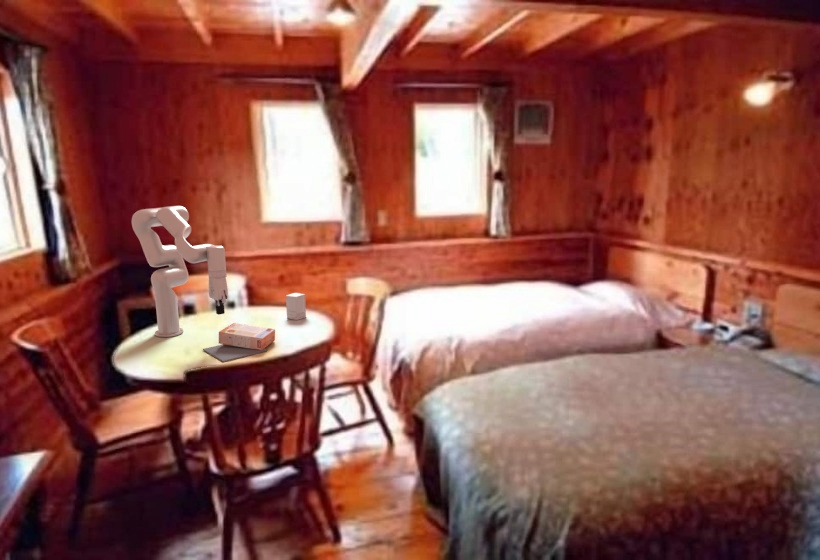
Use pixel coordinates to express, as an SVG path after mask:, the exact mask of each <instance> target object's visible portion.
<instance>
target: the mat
mask: <svg viewBox="0 0 820 560" xmlns="http://www.w3.org/2000/svg"><path fill="white" fill-rule="evenodd" d="M203 350H204V352H205V353H207V354H208V353H209V354H208V355H210V354H211V356H212V357H213V356H214V358H215V359H217V360H218V361H220V362H221V363H226V362H229V361H235V360H237V359H242V358H246V357H247V358H248V357H250V356H254V355H257V354H262V353H265V352H267V351H268V350H267V349H265V348H264V349H263V350H257V349H251V348H244V347H238V346H231V345H225V344H218V345H214V346H209V347H206V348H203V349H202V351H203Z"/></svg>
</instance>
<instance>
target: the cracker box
mask: <svg viewBox="0 0 820 560" xmlns="http://www.w3.org/2000/svg"><path fill="white" fill-rule="evenodd" d="M275 341H276V329H275V328H269V327H263V326H256V325H249V324H243V323H236V322H233V323H232V324H230V325H228V326H226V327H225V328H223V329H221V330H220V331H218V345H223V344H225V345H231V346H238V347H244V348H251V349H257V350H263V349H265V348H266V347H268V346H270V344H272V343H274V342H275Z"/></svg>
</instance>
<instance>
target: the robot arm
mask: <svg viewBox="0 0 820 560" xmlns="http://www.w3.org/2000/svg"><path fill="white" fill-rule="evenodd" d="M189 218H190V214H189V212H188V210H187V209H186V207H184V206H182V205H171V206H163V207H155V208H145V209H144V208H142V209H139V210H137V211H136V212H135V213H133V214H132V217H131V226H132V230H133V232H134V234H135V235H136V237H137V238H138V240H139V242H140V245H141V248H142V251H143V254H144V256H145V258H146V261H147V263H148V264H149V266H150V267H152V268H160V267H164V268H160V269H157V270H155V271H153V272H152V274H151V277H150V282H151V286H152V288H153V294H154V299H155V309H156V322H157V323H156V324H157V330H156V331H154V335H155V336H156V337H159V338H170V337H176V336H180V335H181V334H183V333H184V329H183V328H182V327H180V320H179V319H180V318H179V305H178V304H179V303H178V296H177V293H176V292H175V290H173V288H175V287H179V286H183V285H185V284H187V282H188V281H189V278H190V277H189V276H190V275H189V272H188V269H187V266H186V263H185V261H186V262H188V263H190V264H197V263H202V262H207V270H208V271H207V273H208V297H209V298H211V299H212V300H214V304H215V313H216V314H217V315H218V316H220V315H225V312H226V311H225V304H226V303H227V301H226V300H227V299H229V291H228V289H229V288H228V284H227V283H228V282H227V265H226V264H227V262H226V261H227V260H226V250H225V247H224V246H222V245H214V244H212V243H204V244H197V245H193V246H192V245H191V244H190V243H189V242H188V241H187V240H186V239H187V238H188V237H189V236H190V235H191V233H192V226H191V225H190V224H188V221H189V220H190V219H189ZM154 227H164V229H166V230H167V232H168V233H169V234H171V236H172V237H173V238H174V244H165V245H163V244H162V242H161V239H160V236H159V235H158V233H157V232H156V231H154V229H152V228H154ZM165 266H168V267H165Z"/></svg>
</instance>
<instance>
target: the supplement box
mask: <svg viewBox="0 0 820 560" xmlns="http://www.w3.org/2000/svg"><path fill="white" fill-rule="evenodd" d="M285 304H286V307H285V309H286V319H288V320H289V319H290V320H295V321H298V320H301V319H304V318H307V309H306V308H307V307H306V294H305V293H300V292H294V293H290V294H286V295H285Z"/></svg>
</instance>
